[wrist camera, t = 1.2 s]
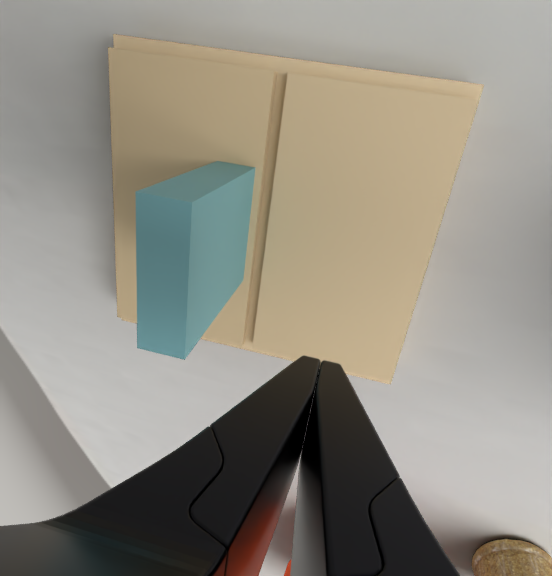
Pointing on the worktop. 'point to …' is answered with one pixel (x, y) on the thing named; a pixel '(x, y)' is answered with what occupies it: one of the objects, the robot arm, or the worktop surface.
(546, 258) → the worktop surface
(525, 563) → the sprinkles bottle
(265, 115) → the flap
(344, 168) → the carton
